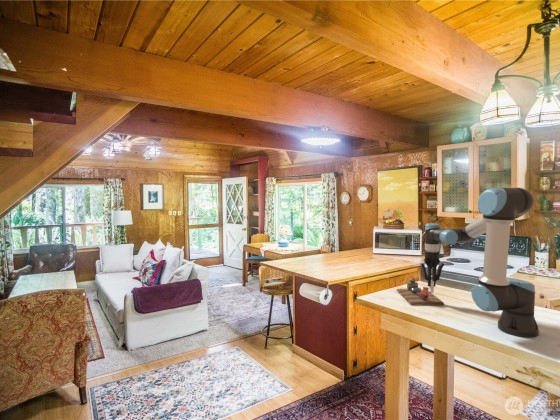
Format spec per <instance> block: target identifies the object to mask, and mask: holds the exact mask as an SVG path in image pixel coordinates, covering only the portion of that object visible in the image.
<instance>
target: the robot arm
mask: <svg viewBox="0 0 560 420" xmlns="http://www.w3.org/2000/svg"><path fill="white" fill-rule="evenodd" d="M534 198H535V197H534V195H533V194H532V193H531V192H530V191H529V190H527V189H526V188H523V187H491V188H487V189H485V190H484V191H483V192H482V193H480V195H479V196H478V199H477V203H476V204H477V205H476V206H477V209H478V210H479V213H481V214H482V216H481V217H479V218H477V219H476V220H473V221H472V222H471V223H469V224H467V225H466V226H464V227H462V228H441V225H440V224H439V223H435V222H434V223H433V222H432V223H431V222H430V223H426V224H425V226H424V227H425V228H424V229H425V230H424V250H425V251H424V259H423V262H419V265H420V267H421V269H422V270H421V271H422V275H423V278H424V280H426V281H427V287H428V291H429V292H431V293H432V294H434V292H435V287H436V282H437V281H439V280H440V278H441V274H442V270H443V267H444V266H445V263H443V262H441V259H440V245H441V244H440V243H442V244H445V245H454V244H457V243H473V242H476V241H477V240H478V239H479V238H480V236H482V235H484V234H485V239H484V240H485V242H484V255H483V269H482V275H481V276H479V277H478V283H477V284H475V285H474V286H472V288H471V290H470V291H471V298H472V300H473V303H475V305H476V307H478V308H479V309H480V310H481V311H483V312H494V313H495V312H500V311H502V312H501V314H500V316H499V318H498V319H497V328H498V329H499V330H500V331H502V332H503V333H506V334H508V335H511V336H517V337H520V338H521V337H522V338H535V337H538V336H539V334H540V333H539V332H540V331H539V327H538V323H537V320H536V317H535V305H536V304H535V303H536V301H535V300H536V288H535V287H536V286H535V285H534V283H533V282H530V281H527V280H525V279H518V278H514V277H513V278H511V277H507V270H508V259H509V258H508V257H509V248H510V247H509V246H510V235H511V233H510V232H511V224H512V223H514V222H515V221H516V219H519V218H520V217H522V216H524V215H526V214H528V213H530V211H531V210H532V209H533V207H534V205H535V199H534ZM426 266H427V267H426ZM426 268H427V269H426Z"/></svg>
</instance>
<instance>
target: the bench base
mask: <svg viewBox="0 0 560 420" xmlns="http://www.w3.org/2000/svg"><path fill="white" fill-rule="evenodd" d="M408 280H409V281H407V282H406V288H397V289H396V292H397V293H398V294H399V295H400V296H401V297H402V298H403V300H405V301H406V303H408V304H409V305H410V306H444V305H445V303H444V302H443V301H442V300H441V299H440V298H439V297H437V296H436V295H434V293H431V292H429V290H428V298H427V299H422V298H421V297H419V296H418V295H417V294H416V293H413V292H411V290H410V287H418V288H419V283H418V282H417V281H416V277H414V276H411V277H409V279H408Z"/></svg>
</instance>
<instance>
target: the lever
mask: <svg viewBox="0 0 560 420" xmlns="http://www.w3.org/2000/svg"><path fill="white" fill-rule="evenodd" d="M410 290H411V292H413V293H416V294H417V295H418V296H419V297H421V298H422V299H427V298H428V291H429V287H428V286H420V287H419V286H418V287H410Z"/></svg>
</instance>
